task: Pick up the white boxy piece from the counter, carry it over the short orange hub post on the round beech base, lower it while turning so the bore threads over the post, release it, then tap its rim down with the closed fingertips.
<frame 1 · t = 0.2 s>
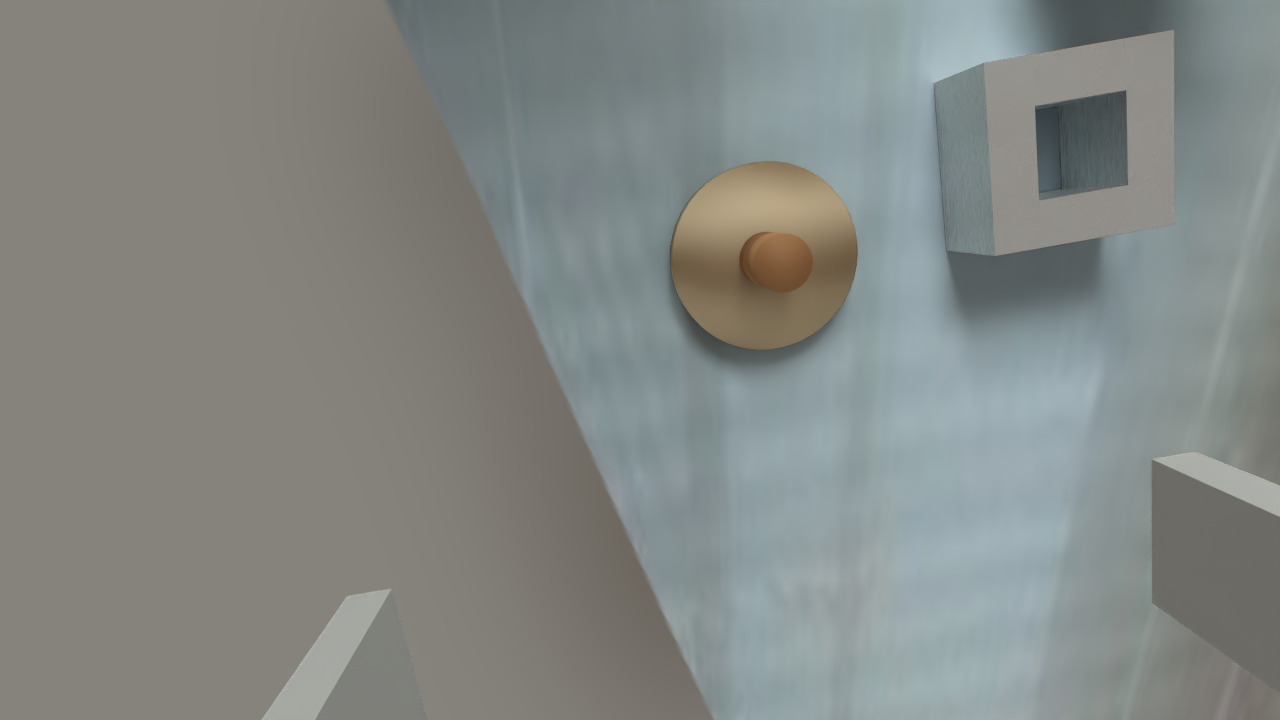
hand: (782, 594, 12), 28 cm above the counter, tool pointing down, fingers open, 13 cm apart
hub: (759, 256, 38), on the counter
white boxy piece: (1020, 154, 38), on the counter
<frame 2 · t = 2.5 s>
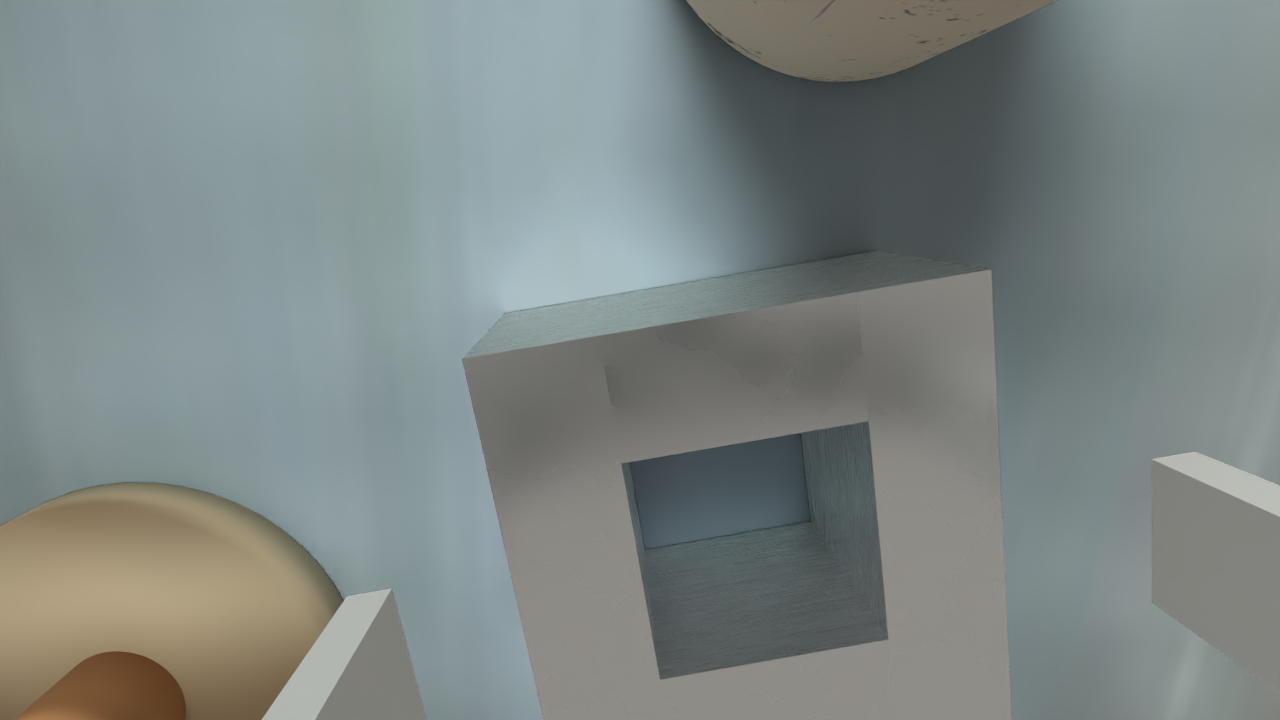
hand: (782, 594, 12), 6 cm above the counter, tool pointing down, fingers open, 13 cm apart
hub: (163, 662, 18), on the counter
white boxy piece: (716, 457, 17), on the counter
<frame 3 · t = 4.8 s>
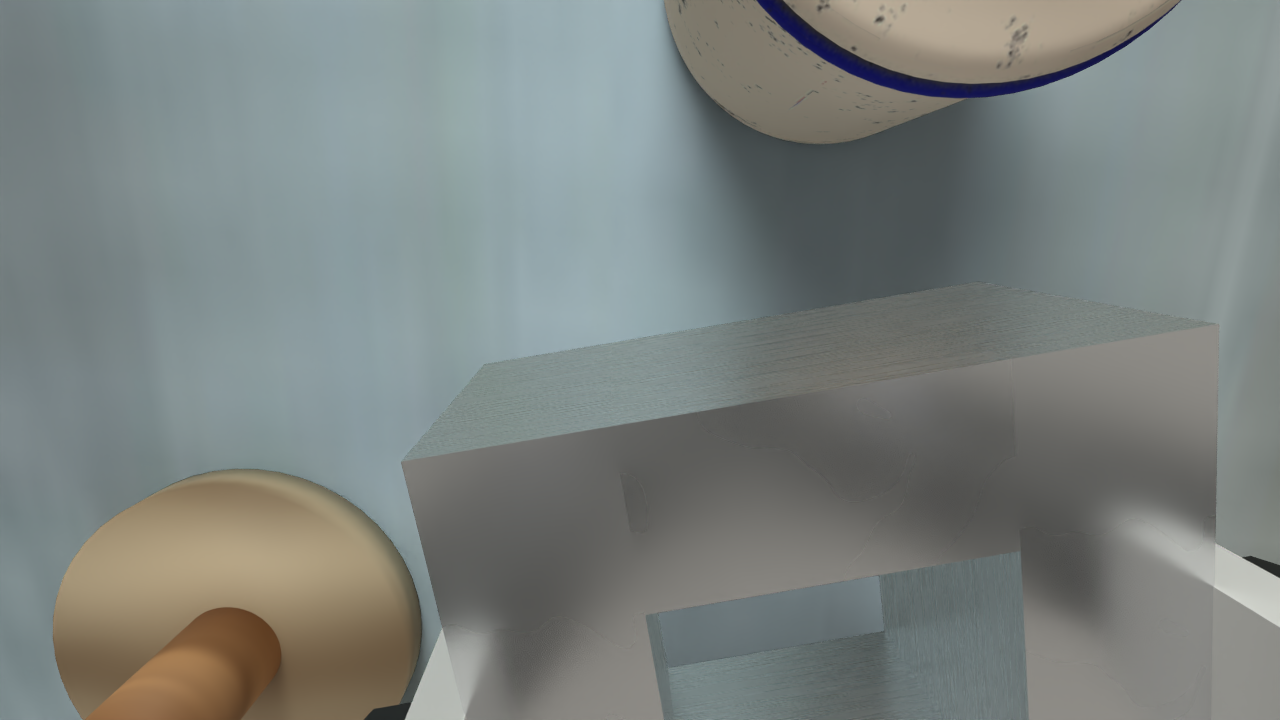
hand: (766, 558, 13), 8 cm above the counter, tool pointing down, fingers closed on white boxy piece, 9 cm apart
hub: (258, 622, 21), on the counter
white boxy piece: (762, 549, 13), point 7 cm above the counter, touching gripper
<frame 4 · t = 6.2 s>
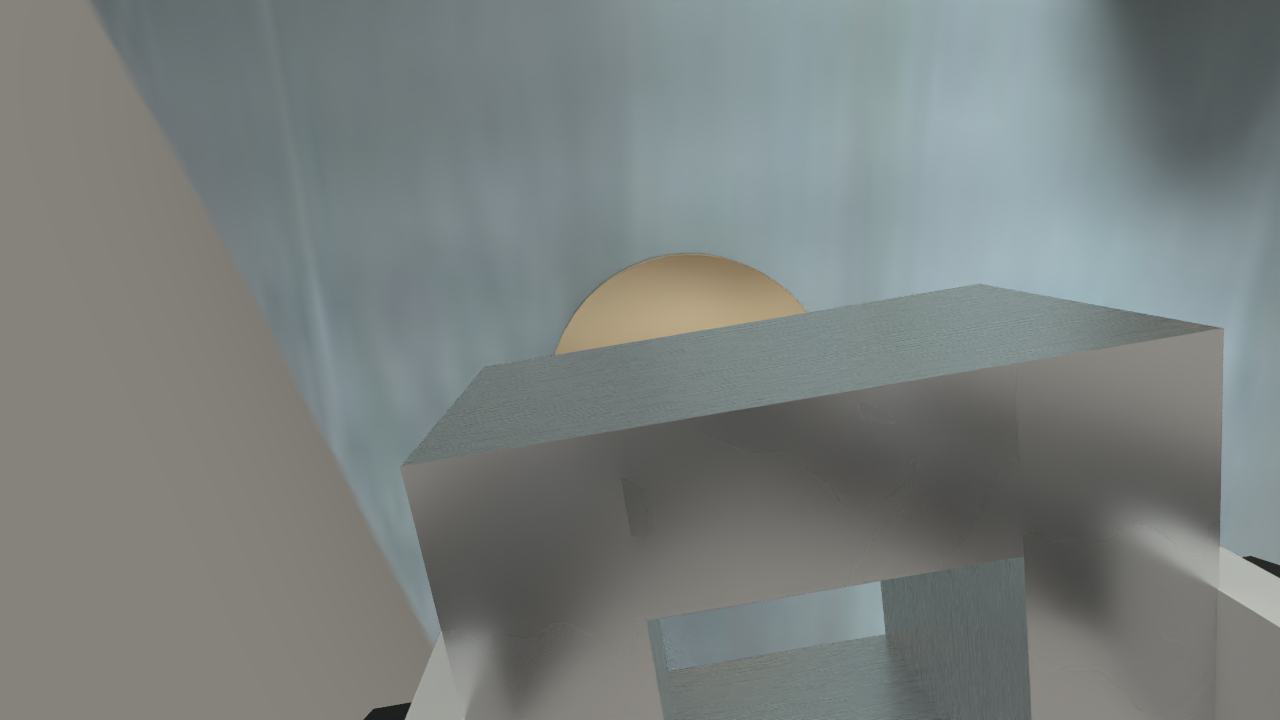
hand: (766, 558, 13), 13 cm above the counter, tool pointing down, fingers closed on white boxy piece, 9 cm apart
hub: (686, 389, 25), on the counter
white boxy piece: (763, 552, 13), point 13 cm above the counter, touching gripper
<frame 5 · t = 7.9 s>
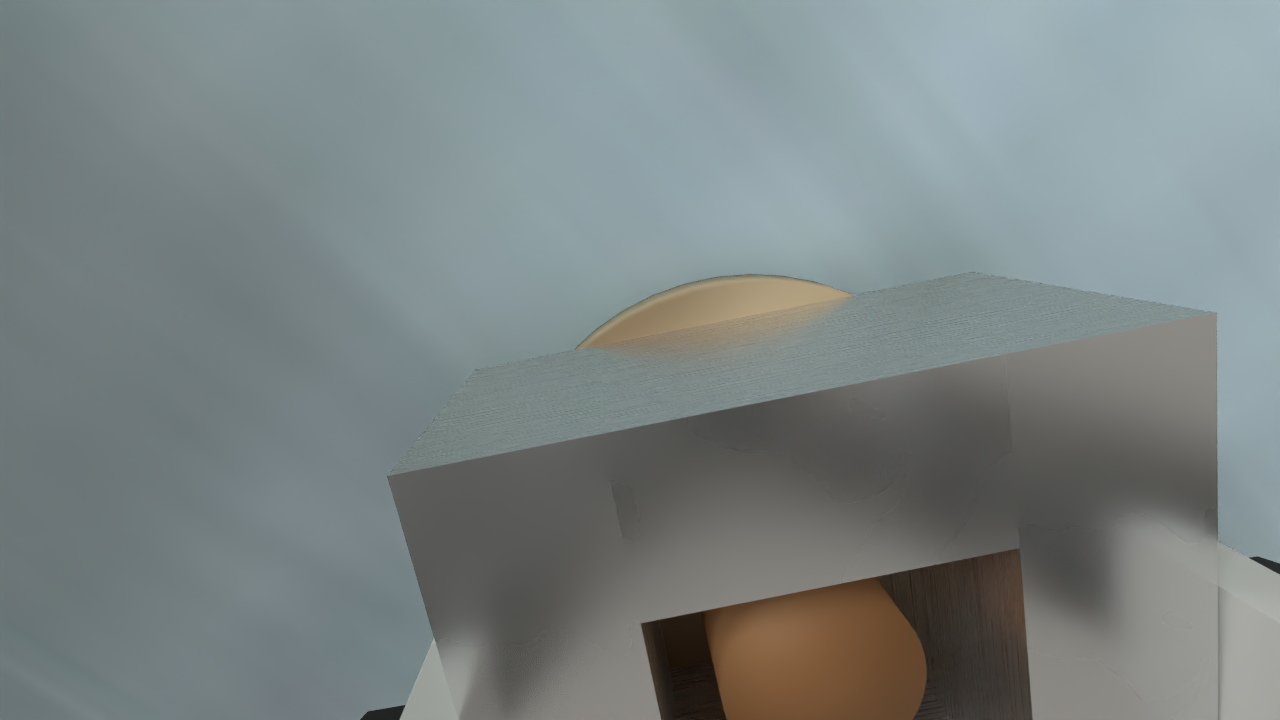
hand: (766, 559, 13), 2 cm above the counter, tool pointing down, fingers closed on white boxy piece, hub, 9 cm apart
hub: (744, 509, 15), on the counter
white boxy piece: (762, 548, 13), point 1 cm above the counter, touching gripper, hub
when the fingers open (2 cm above the counter, at t = 8.8 s): white boxy piece stays where it is, resting on hub.
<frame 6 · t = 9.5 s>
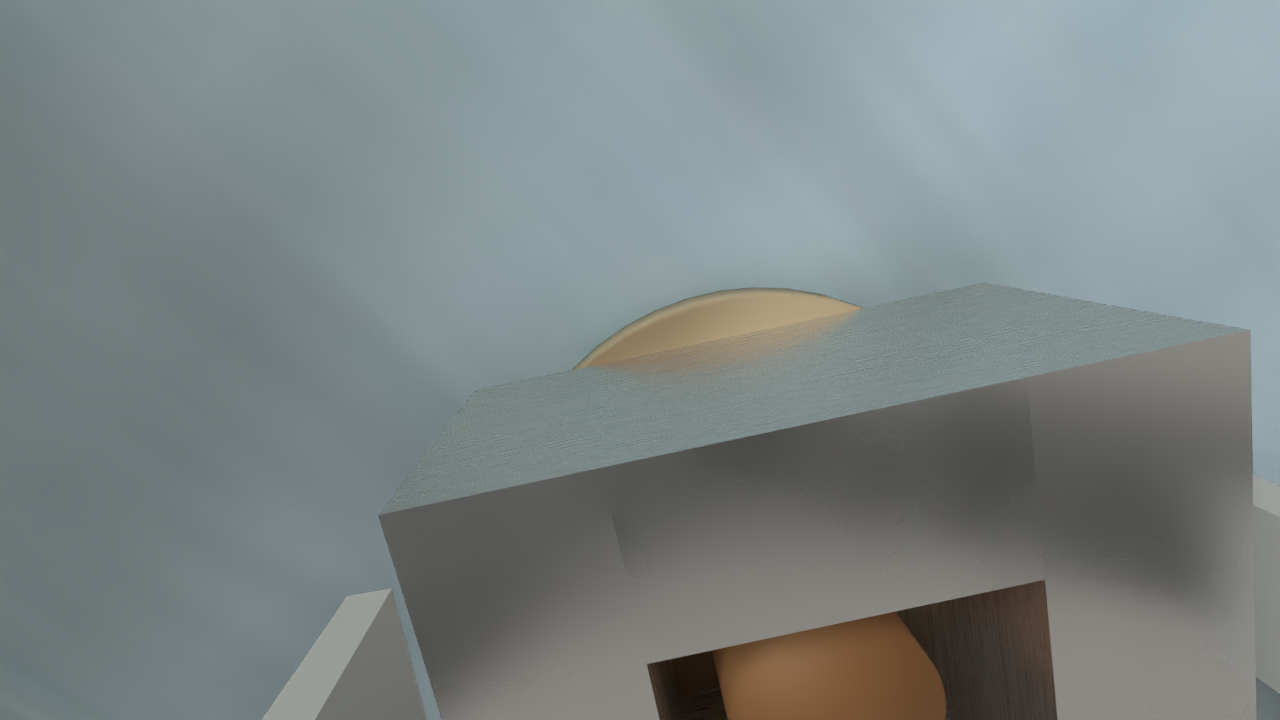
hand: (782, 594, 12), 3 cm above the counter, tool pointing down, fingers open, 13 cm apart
hub: (752, 528, 14), on the counter
white boxy piece: (772, 569, 13), point 1 cm above the counter, touching hub
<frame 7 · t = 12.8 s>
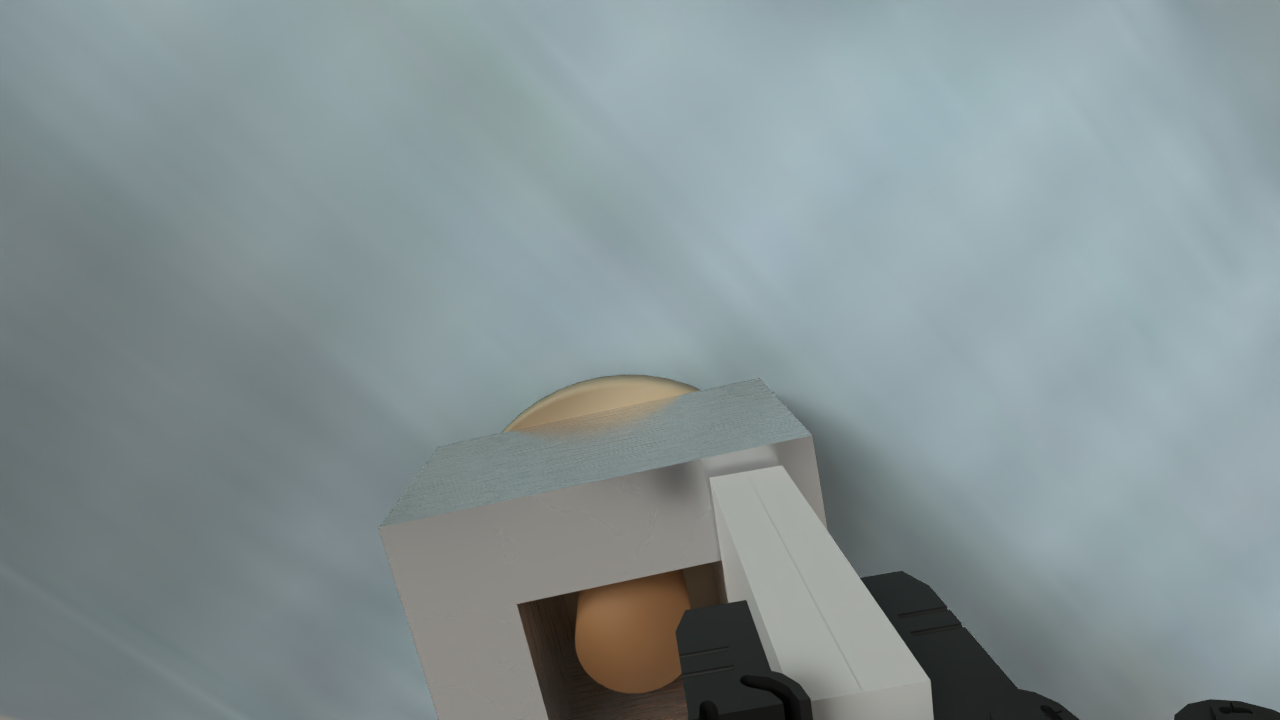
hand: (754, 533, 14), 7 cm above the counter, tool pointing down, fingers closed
hub: (628, 532, 21), on the counter
white boxy piece: (632, 558, 20), point 1 cm above the counter, touching gripper, hub
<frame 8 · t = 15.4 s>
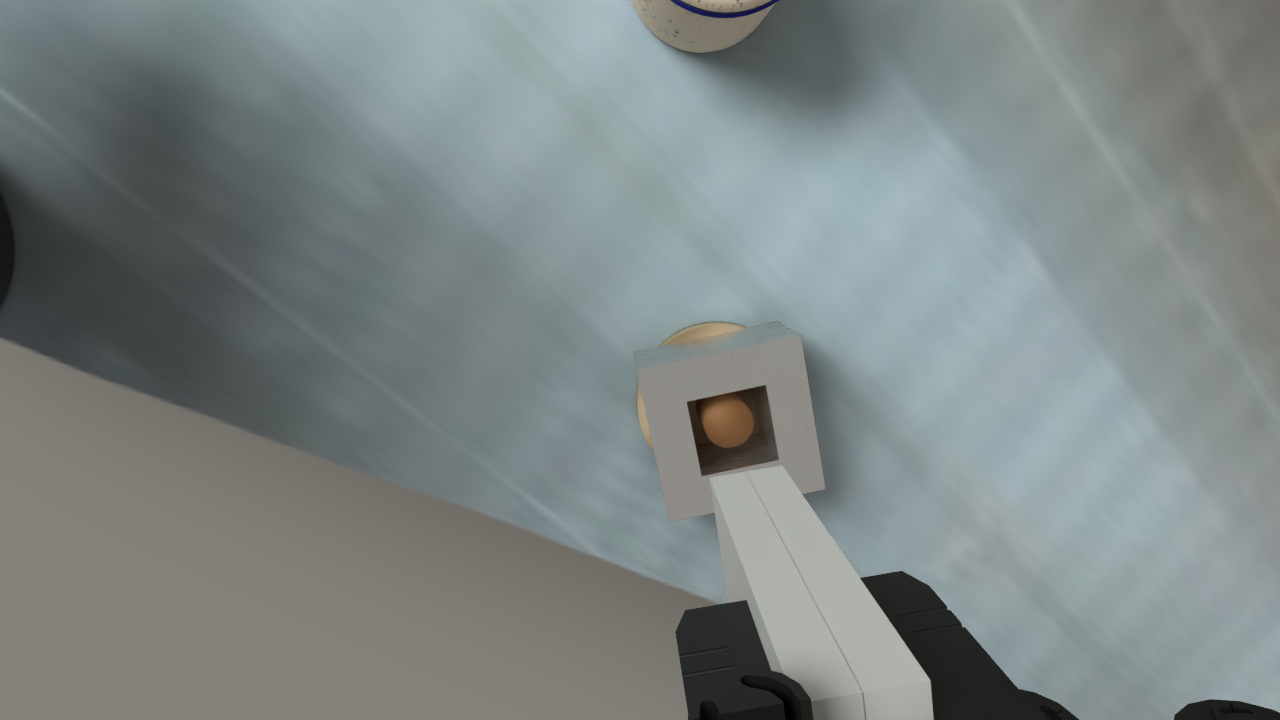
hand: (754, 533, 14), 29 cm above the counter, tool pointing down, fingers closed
hub: (714, 398, 44), on the counter
white boxy piece: (719, 406, 43), point 1 cm above the counter, touching hub
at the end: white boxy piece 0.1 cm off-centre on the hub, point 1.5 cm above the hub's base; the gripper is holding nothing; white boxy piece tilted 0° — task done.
